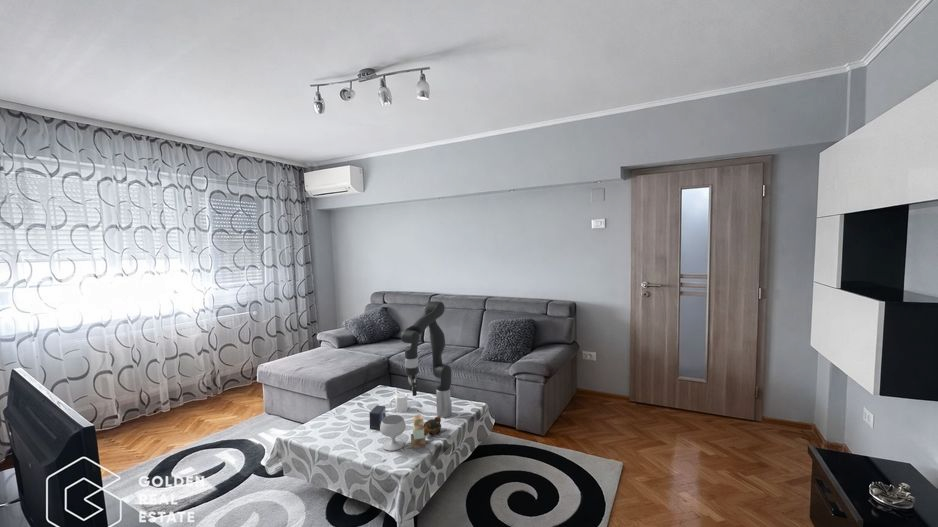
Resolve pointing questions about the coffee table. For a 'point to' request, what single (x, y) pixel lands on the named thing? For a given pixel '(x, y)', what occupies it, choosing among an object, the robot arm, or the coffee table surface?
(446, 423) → the coffee table surface
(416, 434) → the tower cube
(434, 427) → the decorative turtle
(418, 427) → the oak block
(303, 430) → the coffee table surface
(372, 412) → the small box
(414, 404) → the coffee table surface
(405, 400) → the mug
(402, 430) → the chalice
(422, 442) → the tower slab
